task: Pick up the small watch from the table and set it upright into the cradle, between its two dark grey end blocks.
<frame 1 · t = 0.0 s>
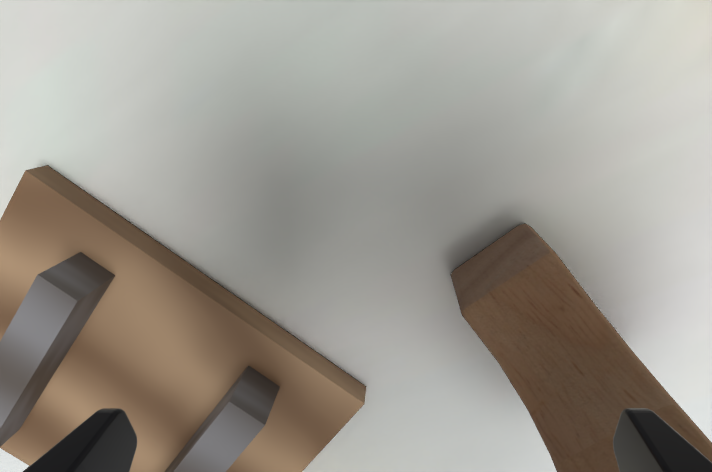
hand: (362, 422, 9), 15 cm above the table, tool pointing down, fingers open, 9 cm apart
wooden block: (535, 310, 25), on the table
cradle: (142, 382, 28), on the table
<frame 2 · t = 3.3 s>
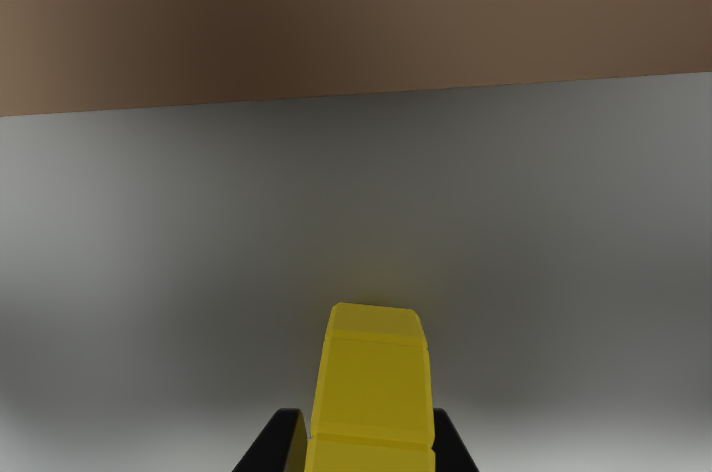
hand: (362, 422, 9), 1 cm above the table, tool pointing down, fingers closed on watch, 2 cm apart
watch: (365, 363, 10), on the table, touching gripper
when the fingers open (4 cm above the table, at t = 7.6 s): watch drops 1 cm, resting on cradle.
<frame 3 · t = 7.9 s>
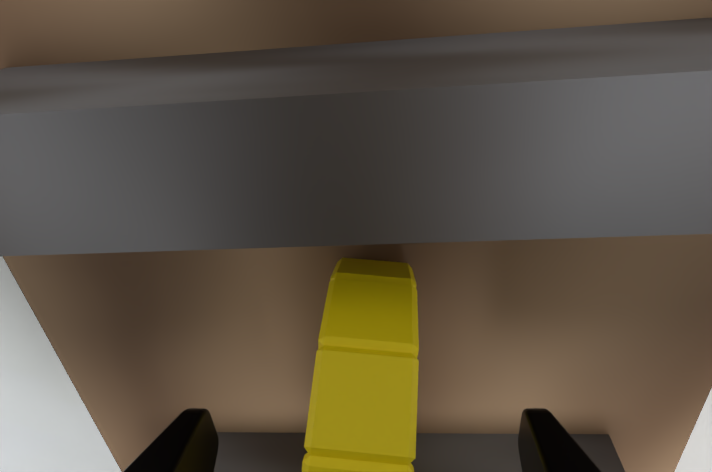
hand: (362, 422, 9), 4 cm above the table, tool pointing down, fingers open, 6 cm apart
cradle: (371, 281, 12), on the table
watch: (369, 320, 11), point 1 cm above the table, touching cradle
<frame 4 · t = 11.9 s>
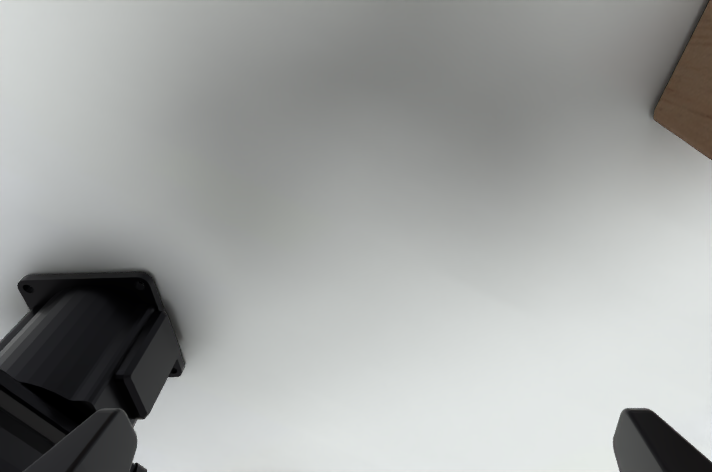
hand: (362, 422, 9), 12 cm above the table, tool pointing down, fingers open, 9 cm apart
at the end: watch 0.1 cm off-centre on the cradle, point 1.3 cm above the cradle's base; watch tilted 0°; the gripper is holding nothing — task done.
